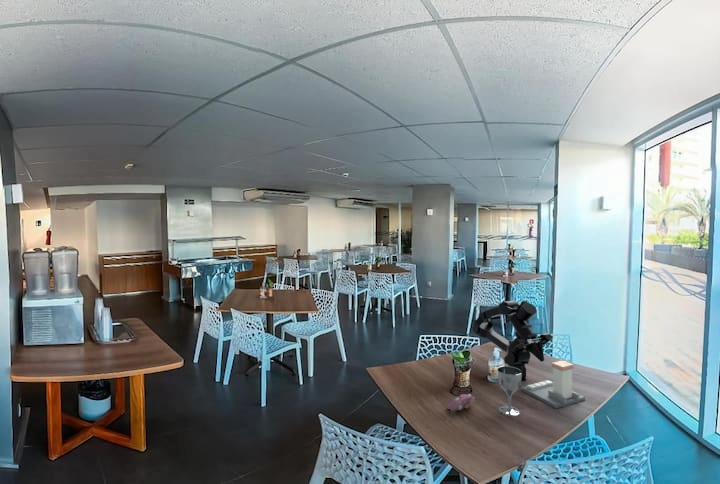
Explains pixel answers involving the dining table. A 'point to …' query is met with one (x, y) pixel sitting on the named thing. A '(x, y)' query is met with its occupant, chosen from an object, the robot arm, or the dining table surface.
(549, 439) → the dining table surface
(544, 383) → the keyboard deck
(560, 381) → the key
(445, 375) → the dining table surface
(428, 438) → the dining table surface
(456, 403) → the pink toy figurine
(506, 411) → the wine glass
